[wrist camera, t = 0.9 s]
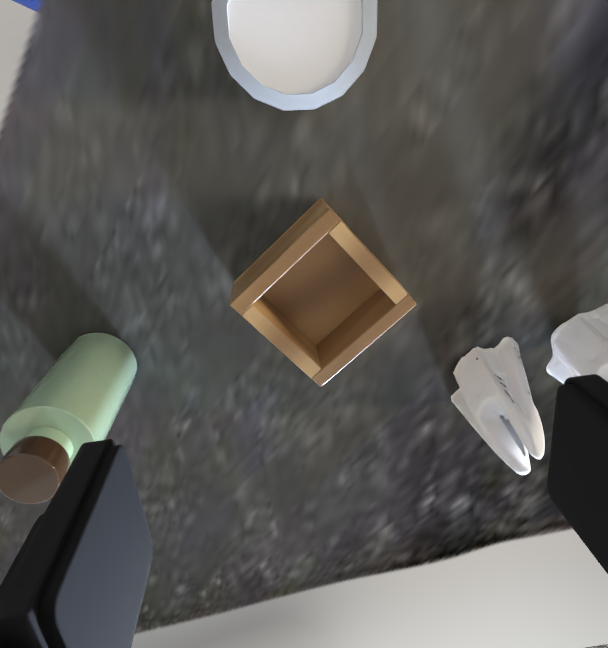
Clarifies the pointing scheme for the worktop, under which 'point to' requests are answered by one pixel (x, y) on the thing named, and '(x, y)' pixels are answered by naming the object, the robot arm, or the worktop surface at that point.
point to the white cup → (295, 47)
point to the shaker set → (525, 385)
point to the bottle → (64, 415)
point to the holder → (320, 294)
